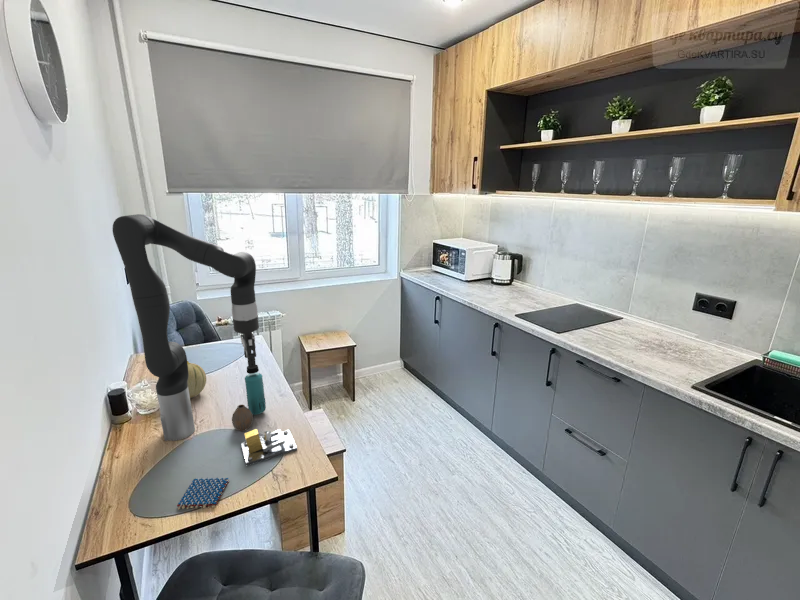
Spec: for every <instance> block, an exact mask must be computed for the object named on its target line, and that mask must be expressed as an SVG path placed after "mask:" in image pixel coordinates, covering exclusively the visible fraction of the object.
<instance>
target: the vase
mask: <svg viewBox="0 0 800 600" xmlns="http://www.w3.org/2000/svg"><path fill="white" fill-rule="evenodd" d="M253 419H254V418H253V414H252V413H251V411H250V410H249V409H248V407H247V406H245V405H244V404H238V405H237V407H236V409H235V411H233V413H232V417H231V424H232V426H233V427H234V429H236V431H240V432H243V431H246V430H248V429H249V428H250V427H252V424H253Z"/></svg>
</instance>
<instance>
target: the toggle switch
mask: <svg viewBox="0 0 800 600" xmlns="http://www.w3.org/2000/svg"><path fill="white" fill-rule="evenodd" d="M271 432H272V431H271V430H266V431H264V434H263V435H265V440H264V443H265V446H267V445H270V444H272V443H275V442H277V441H279V440H280V437H279V435H276V436H274V437H271ZM281 432H282V435H283V437H284V440H285V444H282V445H280V446H278V447H275V448H273V449H270V450H268V451H266V452H264V451H263V449H261V450H258V451H256V452H253V453H251V454H250V452H249V449H248V445H247V442H246V441H244V442H241V443H240V445H241V450H242V454H243V459H245V460H244V462H245V466H246V465H247V466H250V464H251V465H254V464H256V463H260V462H263V461H267V460H269V459H273V458H276V457H277V458H278V457H279V456H282V455H286V454H289V453H292V452H295V451H298V446H297V444H296V442H295V439H294V438H293V434H292V433H291V431H290V429H286V430H283V431H281ZM253 463H254V464H253Z"/></svg>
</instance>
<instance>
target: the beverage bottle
mask: <svg viewBox="0 0 800 600" xmlns="http://www.w3.org/2000/svg"><path fill="white" fill-rule="evenodd" d="M259 371H260V369H259V365H258V364H256V367H254V368H249V367H248V365H247V366H246V373H247V375H246V376H245V377H244V382H245V391H246V400H247V401H246V404H247V408H248V409H249V410H250V411H251V413H252V415H259V414H262V413H264V412H265V411H266V408H267V402H266V397H265V388H264V387H265V386H264V381H263V379H264V378H263V375H262V373H260V372H259Z"/></svg>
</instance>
